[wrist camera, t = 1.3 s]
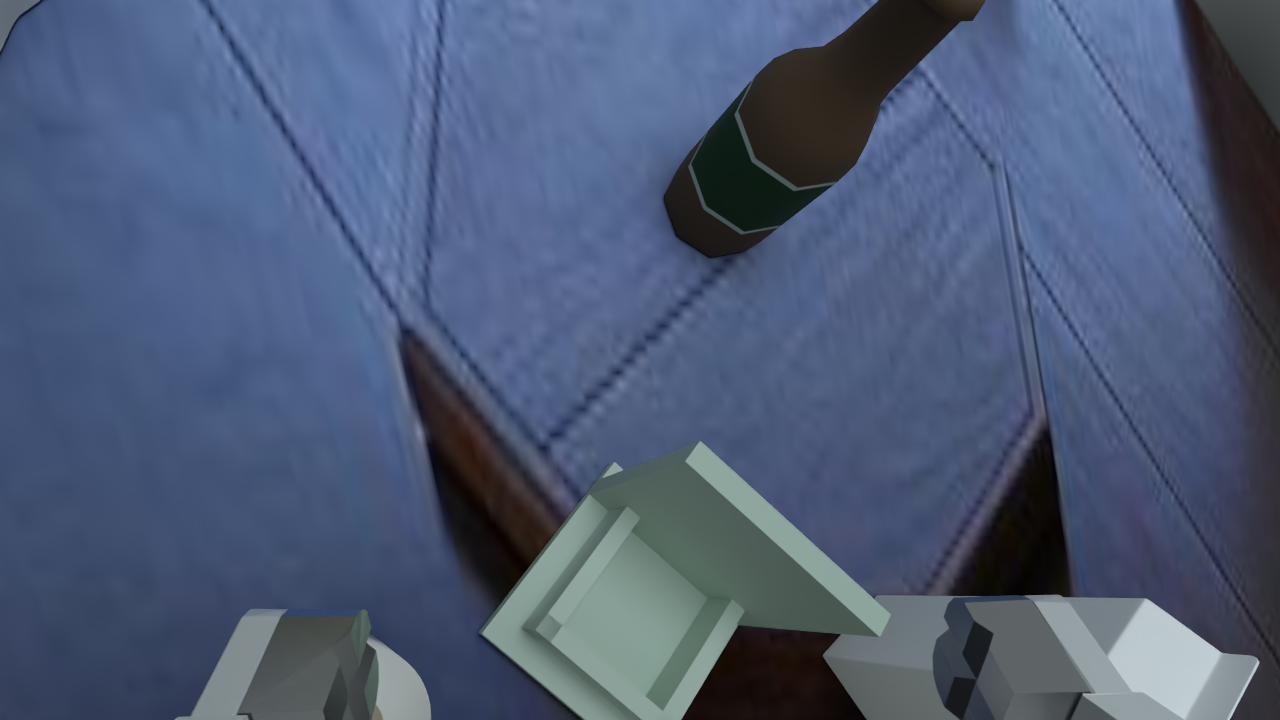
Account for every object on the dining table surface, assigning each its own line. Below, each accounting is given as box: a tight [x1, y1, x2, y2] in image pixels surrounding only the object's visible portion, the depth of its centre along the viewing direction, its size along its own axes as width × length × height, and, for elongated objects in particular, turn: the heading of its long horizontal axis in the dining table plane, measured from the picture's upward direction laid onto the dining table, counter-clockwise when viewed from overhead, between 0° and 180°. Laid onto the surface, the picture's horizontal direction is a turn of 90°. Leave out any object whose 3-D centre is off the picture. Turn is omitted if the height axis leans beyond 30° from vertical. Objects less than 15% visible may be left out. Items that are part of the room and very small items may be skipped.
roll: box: [367, 633, 431, 720], centre depth 32 cm, size 5×5×14 cm
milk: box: [823, 595, 1259, 720], centre depth 40 cm, size 6×6×22 cm
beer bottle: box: [664, 0, 985, 257], centre depth 44 cm, size 8×8×24 cm
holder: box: [478, 441, 891, 720], centre depth 39 cm, size 12×12×14 cm
